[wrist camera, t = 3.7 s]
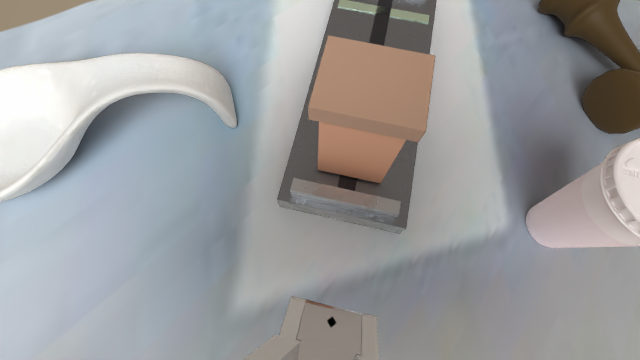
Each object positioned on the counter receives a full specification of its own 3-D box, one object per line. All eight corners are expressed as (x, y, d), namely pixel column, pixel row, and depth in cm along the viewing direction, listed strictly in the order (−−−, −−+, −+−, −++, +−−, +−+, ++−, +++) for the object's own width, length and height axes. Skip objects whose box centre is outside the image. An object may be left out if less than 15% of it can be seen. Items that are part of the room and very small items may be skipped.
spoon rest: (-45, 233, 25) (-178, 211, 18) (-32, 111, 29) (-137, 55, 22) (247, 160, 28) (226, 117, 21) (224, 57, 31) (199, -8, 25)
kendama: (579, 0, 35) (716, 147, 29) (505, 22, 34) (627, 181, 28) (627, -57, 30) (810, 110, 23) (540, -32, 29) (704, 151, 22)
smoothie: (574, 187, 27) (822, 85, 14) (599, 264, 25) (923, 230, 12) (501, 189, 27) (682, 88, 14) (520, 267, 25) (758, 236, 11)
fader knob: (385, 189, 24) (425, 131, 15) (310, 172, 24) (308, 107, 16) (394, 135, 26) (435, 55, 17) (323, 120, 26) (328, 35, 17)
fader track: (399, 233, 25) (412, 224, 22) (279, 206, 26) (274, 193, 23) (431, 1, 34) (444, -30, 31) (342, -15, 35) (344, -47, 31)
